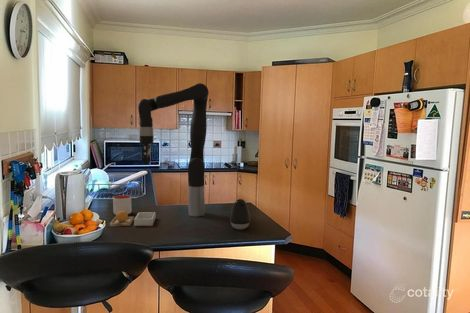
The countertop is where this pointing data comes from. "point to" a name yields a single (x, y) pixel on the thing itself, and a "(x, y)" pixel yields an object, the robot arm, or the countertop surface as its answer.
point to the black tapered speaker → (240, 215)
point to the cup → (122, 204)
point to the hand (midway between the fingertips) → (146, 163)
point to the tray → (125, 223)
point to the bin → (144, 219)
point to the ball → (122, 216)
